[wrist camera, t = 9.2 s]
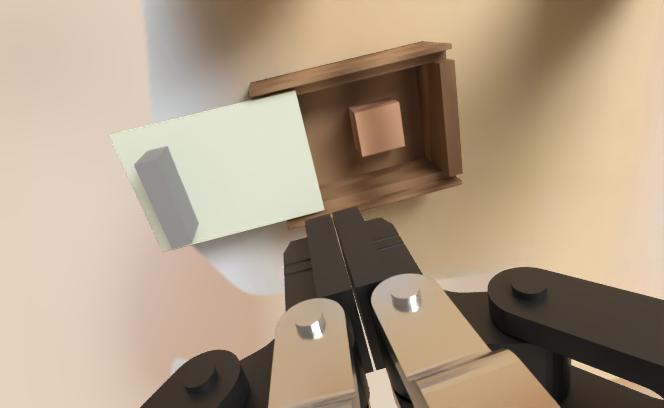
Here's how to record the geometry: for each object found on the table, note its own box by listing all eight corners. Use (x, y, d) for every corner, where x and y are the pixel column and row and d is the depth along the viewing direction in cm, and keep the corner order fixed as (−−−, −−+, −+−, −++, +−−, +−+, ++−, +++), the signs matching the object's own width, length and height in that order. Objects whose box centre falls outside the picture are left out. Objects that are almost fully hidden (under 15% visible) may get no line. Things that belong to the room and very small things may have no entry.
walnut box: (422, 41, 36) (453, 43, 30) (435, 163, 41) (463, 185, 35) (251, 82, 35) (248, 93, 29) (285, 201, 40) (289, 231, 34)
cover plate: (294, 89, 31) (298, 97, 28) (323, 207, 36) (330, 228, 32) (111, 133, 30) (90, 148, 27) (164, 248, 35) (152, 275, 31)
